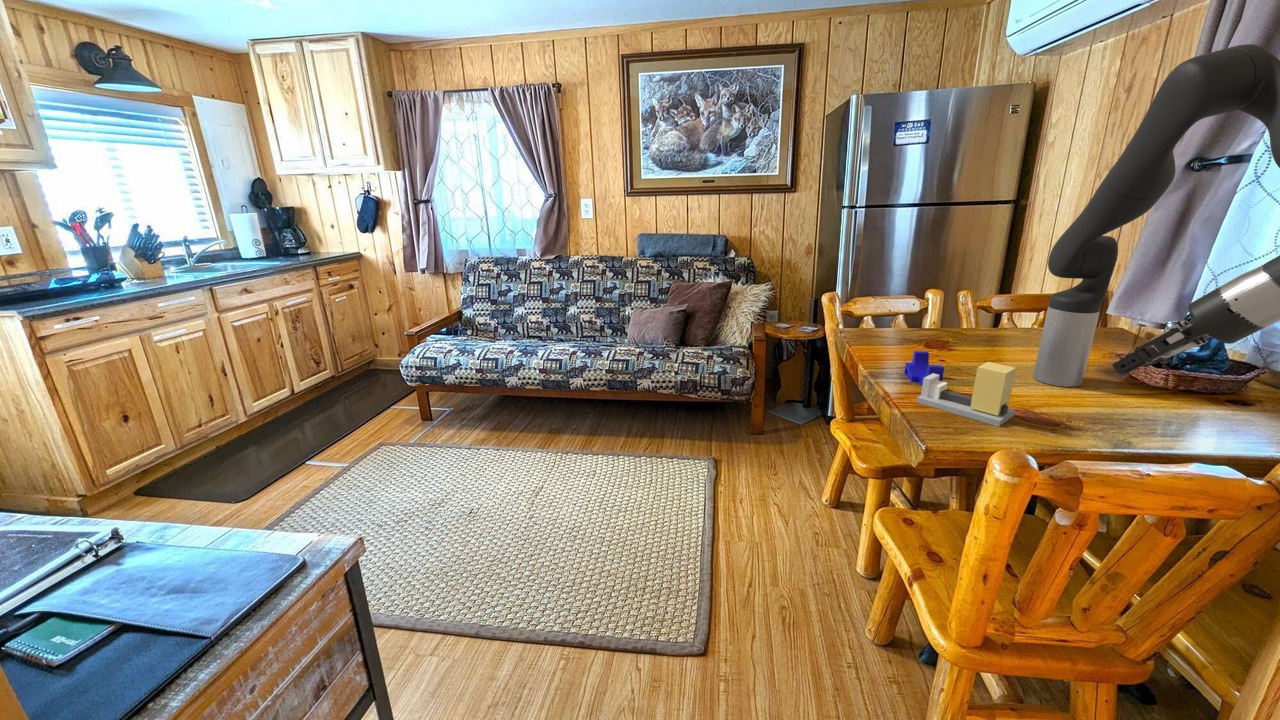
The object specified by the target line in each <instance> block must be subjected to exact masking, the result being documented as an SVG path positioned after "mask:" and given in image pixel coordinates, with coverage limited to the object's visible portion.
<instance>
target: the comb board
mask: <svg viewBox="0 0 1280 720" xmlns="http://www.w3.org/2000/svg"><path fill="white" fill-rule="evenodd" d="M939 376H940V375H938V374H934V373H933V374H931V375H928V376H926V377H924V378H923V384H922V386H921V392H920V395H918V396H917V397H916V401H915V403H917V404H920V405H923V406H928V407H931V408H934V409H937V410H941V411H944V412H947V413H950V414H955V415H958V416H962V417H964V418H968V419H972V420H975V421H978V422H982V423H986V424H988V425H992V426H996V427H1000V426H1002V425H1004V423H1006V422H1007V421H1009V420H1010V419H1012V418H1013V417H1014V416H1015V415H1016V409H1014V408H1010V407H1009V405H1008V406H1006V405H1002V406H1001V411H1000V414H999V415H998V416H997V415H993V414H989V413H986V412H982V411H979V410H975V409H971V408H970V406H971V401H972V396H971V395H967V394H963V393H960V392H956V391H952V390H947V388H948V382H947V381H943V380H942V381H939Z"/></svg>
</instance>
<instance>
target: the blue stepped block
mask: <svg viewBox="0 0 1280 720" xmlns="http://www.w3.org/2000/svg"><path fill="white" fill-rule="evenodd" d="M929 356H930V353H929V352H928V351H926V350H925V351H924V350H923V351H921V350H914V351H913V356H912V361H911V362H905V365H904V373H903V374H904V375H905V376H906V377H907V379H908V380H909V381H910V382H911V383H918V384H919V385H920V386H921V387H922V384H923V378H924V377H926V376H928V375H931V374H933V373H934V374H938V375H940V376H939V381H942V382H943V379H944V378H943V377H944V373H945V366H944V365H939V364H937V365H936V364H930V363H929V361H930V360H929V359H930V357H929Z"/></svg>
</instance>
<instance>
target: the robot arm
mask: <svg viewBox="0 0 1280 720" xmlns="http://www.w3.org/2000/svg"><path fill="white" fill-rule="evenodd" d="M1152 99H1153V100H1152V101H1151V103H1150V105H1149V107H1148V109H1147V111H1146V113H1145V114H1144V117H1143V119H1142V120H1141V123H1140V124H1139V126H1138V128H1137V130H1136V131H1135V133H1133V134H1134V135H1133V136H1132V138H1131V139H1130V141H1129V142H1128V144H1127V145H1126V147H1125V148H1124V150H1123V152H1121V154H1120V156H1119V158H1118V159H1117V161H1115V164H1113V166H1112V167H1111V168H1110V170H1109V171H1108V173H1107V174H1106V175H1105V177H1104V178H1103V180H1102V181H1101V182H1100V184H1099V186H1098V187H1097V189H1096V191H1095V192H1094V193H1093V195H1092V197H1091V198H1090V200H1089V201H1088V202H1087V204H1086V206H1084V208H1083V210H1082V211H1081V212H1080V214H1078V216H1077V217H1076V219H1074V221H1073V222H1072V223H1071V225H1069V226H1068V228H1066V230H1065V231H1064V232H1063V233H1062V235H1061V236H1060V237H1059V238H1058V240H1057V241H1056V242H1055V243H1054V245H1053V246H1052V249H1051V251H1050V254H1049V257H1048V261H1047V265H1048V266H1047V267H1048V268H1047V269H1048V271H1049V272H1050V274H1051V275H1053V276H1054V277H1056V278H1057V277H1058V278H1061V279H1076V280H1077V279H1082V280H1081V281H1080V282H1079V283H1078V284H1077V285H1075V286H1072V287H1070V288H1068V289H1065V290H1061V291H1057V292H1055V293H1052V294H1051V296H1049V297H1050V298H1049V302H1048V306H1047V311H1046V315H1045V321H1044V325H1043V329H1042V333H1041V338H1040V341H1039V342H1040V343H1039V346H1038V347H1039V348H1038V352H1037V357H1036V361H1035V366H1034V370H1033V374H1032V377H1033V378H1034V380H1036V381H1038V382H1041V383H1044V384H1047V385H1050V386H1051V385H1052V386H1056V387H1057V386H1058V387H1065V388H1066V387H1068V388H1071V387H1075V388H1076V387H1079V386H1081V385H1082V384H1083V380H1084V375H1085V372H1086V369H1087V368H1086V367H1087V364H1088V360H1089V357H1090V353H1091V348H1092V343H1093V342H1094V341H1093V339H1094V336H1095V332H1096V327H1097V323H1098V320H1099V315H1100V312H1101V308H1102V304H1103V302H1104V301H1105V299H1106V296H1107V293H1108V291H1109V290H1108V289H1109V285H1110V282H1111V279H1112V277H1113V274H1114V271H1115V267H1116V264H1117V261H1118V256H1119V245H1118V242H1117V240H1116V238H1114V237H1113V236H1109V235H1106V234H1108V233H1110V232H1112V231H1115V230H1116V229H1119V228H1121V227H1123V226H1125V225H1127V224H1129V223H1131V222H1133V221H1134V220H1136V219H1139V218H1140V217H1141V216H1143V215H1144V214H1147V212H1148V211H1149V210H1151V209H1152V208H1153V207H1154V206H1155V204H1156V203H1157V202H1158V201H1159V200H1160V198H1162V196H1163V195H1164V194H1165V193H1166V192H1167V190H1168V189H1169V187H1170V186H1171V184H1173V182H1174V179H1175V175H1176V160H1175V155H1174V149H1175V148H1176V146H1177V144H1178V143H1179V142H1180V141H1181V139H1182V138H1183V136H1184V135H1185V134H1186V133H1187V132H1188V130H1189V129H1191V127H1193V125H1195V124H1196V123H1197V122H1199V121H1200V120H1203V119H1207V118H1210V117H1215V116H1218V115H1222V114H1227V113H1230V112H1234V111H1236V110H1238V111H1240V112H1243V113H1246V114H1248V115H1250V116H1252V117H1253V118H1255V119H1257V120H1258V121H1260V122H1261V123H1262V124H1264V126H1265V127H1266V129H1267V131H1268V136H1269V142H1270V143H1269V145H1270V152H1271V155H1272V159H1273V161H1274V162H1275V164H1276V166H1277V167H1278V168H1279V169H1280V58H1278V57H1277V56H1276V55H1275V54H1273V53H1272V52H1271V51H1269V49H1266V48H1265V47H1263V46H1260V45H1259V44H1254V43H1251V44H1249V43H1248V44H1246V43H1245V44H1240V45H1234V46H1231V47H1226V48H1223V49H1219V50H1215V51H1211V52H1208V53H1205V54H1200V55H1196V56H1194V57H1192V58H1188V59H1186V60H1184V61H1183V62H1181V63H1179V64H1178V65H1176V67H1174V68H1173V69H1172V70H1171V71H1170V72H1169V74H1167V76H1166V77H1165V79H1164V80H1163V81H1162V84H1161V85H1160V87H1159V88H1158V90H1157V92H1156V93H1155V96H1154V98H1152ZM1187 310H1188V313H1189V315H1190V316H1191V317H1192V322H1189V321H1188V320H1185V321H1183V322H1182V323H1181V322H1179V323H1176V324H1174V325H1172V326H1171V327H1169V328H1168V329H1167V330H1166V331H1164V332H1162V333H1160V334H1157V335H1156V336H1153V337H1152V338H1151V339H1150V340H1149V341H1148V342H1146V343H1144V344H1142V345H1140V346H1137V347H1135V348H1134V349H1133V352H1132V353H1130V354H1128V355H1126V356H1125V357H1123V358H1121V359H1119V360H1117V361H1115V362H1113V363H1112V368H1113V369H1114V370H1115V371H1116V372H1117V373H1118V374H1119V375H1120V376H1124V375H1127V374H1129V373H1130V372H1133V371H1135V370H1137V369H1139V368H1140V367H1143V368H1147V367H1150V366H1152V365H1154V364H1156V363H1158V362H1160V361H1162V360H1164V359H1169V358H1171V357H1172V356H1176V355H1178V354H1179V353H1180V354H1183V353H1185V352H1188V351H1189V350H1192V349H1193V348H1197V347H1199V346H1202V345H1204V344H1207V343H1208V340H1207V339H1209V338H1210V337H1212V338H1213V339H1214V340H1216V341H1218V342H1221V343H1223V344H1225V345H1226V344H1228V345H1232V344H1235V343H1237V342H1239V341H1241V340H1243V339H1245V338H1247V337H1249V336H1251V335H1253V334H1255V333H1257V332H1259V331H1260V332H1261V330H1264V329H1265V328H1268V327H1270V326H1271V325H1274V324H1276V323H1278V322H1280V255H1278V256H1276V257H1274V258H1272V259H1270V260H1269V261H1267V262H1265V263H1264V264H1261V265H1259V266H1257V267H1255V268H1254V269H1251V270H1248V271H1245V272H1244V273H1242V274H1240V275H1238V276H1236V277H1235V278H1233V279H1231V280H1229V281H1227V282H1226V283H1224V284H1222V285H1221V286H1218V287H1217V288H1215V289H1213V290H1211V291H1209V292H1208V293H1206V294H1204V295H1202V296H1201V297H1199V298H1197V299H1196V300H1194V301H1191V302H1190V303H1189V304H1188V307H1187Z"/></svg>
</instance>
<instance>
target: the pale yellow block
mask: <svg viewBox="0 0 1280 720" xmlns="http://www.w3.org/2000/svg"><path fill="white" fill-rule="evenodd" d="M1016 370H1017V368H1016V367H1014V366H1010V365H1005V364H1001V363H996V362H991V361H987V362H985V363H983V364H981V365H978V366H977V368H976V374H975V378H974V379H975V381H974V386H973V391H972V401H971V406H970V408H971V409H975V410H979V411H982V412H986V413H989V414H993V415H997V416H998V415H999V414H1000V411H1001V406H1002V405H1006V406H1009V402H1010V398H1011V394H1012V390H1013V383H1014V379H1015V375H1016Z"/></svg>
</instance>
